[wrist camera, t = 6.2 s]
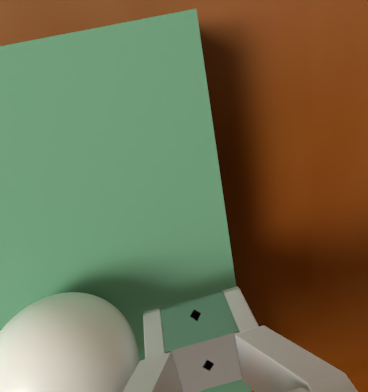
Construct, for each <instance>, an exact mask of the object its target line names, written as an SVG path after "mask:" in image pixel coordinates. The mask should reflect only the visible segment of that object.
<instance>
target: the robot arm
mask: <svg viewBox="0 0 368 392" xmlns="http://www.w3.org/2000/svg"><path fill="white" fill-rule="evenodd" d="M143 327H144V347H145V359H144V360H141V361H140V362H139V363H138V365H137V367H136V369H135V370H134V372H133V374H132V376H131V378H130V379H129V381H128V383H127V385H126V386H125V388H124V390H123V392H199V391H202V390H205V389H208V388H211V387H215V386H218V385H222V384H226V383H230V382H233V381H237V380H241V379H243V381H244V382H245V383H246V384H247V385H248V386H249V387H250V388H251V389H252V390H253V391H254V392H358V391H357V390H356V388H355V387H354V385H353V384H352V383H351V381H350V380H349V378H348V377H347V375H346V374H345V373H344V372H342V371H341V370H339V369H337V368H335V367H334V366H332V365H330V364H329V363H327V362H325V361H324V360H322V359H320V358H319V357H317V356H315V355H313V354H312V353H310V352H308V351H307V350H305V349H303V348H302V347H300V346H298V345H297V344H295V343H293V342H291V341H290V340H288V339H286V338H285V337H283V336H281V335H280V334H278V333H276V332H275V331H273V330H271V329H270V328H268V327H266V326H264V325H263V326H259V325H258V323H257V321H256V319H255V317H254V316H253V314H252V312H251V310H250V308H249V306H248V304H247V302H246V300H245V298H244V296H243V294H242V292H241V290H240V288H239V287H238V286H237V287H233V288H230V289H226V290H223V291H220V292H217V293H213V294H210V295H206V296H202V297H199V298H195V299H192V300H189V301H185V302H181V303H177V304H172V305H168V306H164V307H160V308H158V309H154V310H150V311H146V312H144V314H143Z"/></svg>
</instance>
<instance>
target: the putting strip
mask: <svg viewBox="0 0 368 392" xmlns="http://www.w3.org/2000/svg"><path fill="white" fill-rule="evenodd" d="M233 287H236V280H235V273H234V266H233V259H232V253H231V246H230V239H229V232H228V225H227V218H226V211H225V204H224V197H223V190H222V183H221V176H220V169H219V162H218V155H217V149H216V142H215V135H214V128H213V121H212V114H211V107H210V100H209V93H208V86H207V79H206V72H205V65H204V58H203V51H202V44H201V38H200V31H199V24H198V17H197V10H196V9H192V10H187V11H181V12H176V13H171V14H166V15H161V16H156V17H150V18H145V19H140V20H135V21H130V22H124V23H119V24H114V25H109V26H104V27H99V28H93V29H88V30H83V31H78V32H73V33H67V34H62V35H57V36H52V37H47V38H42V39H36V40H31V41H26V42H21V43H16V44H10V45H5V46H0V331H1V330H2V328H3V327H4V326H5V325H6V324H7V323H8V322H9V321H10V320H11V319H12V318H13V317H14V316H15V315H16V314H17V313H19V312H20V311H21V310H23V309H24V308H26V307H27V306H29V305H31V304H32V303H34V302H36V301H38V300H40V299H43V298H45V297H48V296H51V295H54V294H59V293H66V292H80V293H87V294H92V295H95V296H98V297H100V298H102V299H104V300H106V301H108V302H109V303H111V304H112V305H113V306H115V307H116V308H117V309H118V310H119V311H120V312H121V313H122V314H123V316H124V317H125V318H126V320H127V321H128V323H129V324H130V327H131V329H132V331H133V333H134V335H135V339H136V343H137V347H138V355H139V362H140V361H141V360H144V359H145V347H144V327H143V314H144V312H146V311H150V310H154V309H158V308H160V307H164V306H168V305H172V304H177V303H181V302H185V301H189V300H192V299H195V298H199V297H202V296H206V295H210V294H213V293H217V292H220V291H223V290H226V289H230V288H233ZM199 392H252V391H251V388H250V387H249V386H248V385H247V384H246V383H245V382H244V381H243V379H241V380H237V381H233V382H230V383H226V384H222V385H218V386H215V387H211V388H208V389H205V390H202V391H199Z"/></svg>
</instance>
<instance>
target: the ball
mask: <svg viewBox="0 0 368 392" xmlns="http://www.w3.org/2000/svg"><path fill="white" fill-rule="evenodd" d="M138 363H139V355H138V347H137V343H136V339H135V335H134V333H133V331H132V329H131V327H130V324H129V323H128V321H127V320H126V318H125V317H124V316H123V314H122V313H121V312H120V311H119V310H118V309H117V308H116V307H115V306H113V305H112V304H111V303H109V302H108V301H106V300H104V299H102V298H100V297H98V296H95V295H92V294H87V293H80V292H66V293H59V294H54V295H51V296H48V297H45V298H43V299H40V300H38V301H36V302H34V303H32V304H31V305H29V306H27V307H26V308H24V309H23V310H21V311H20V312H19V313H17V314H16V315H15V316H14V317H13V318H12V319H11V320H10V321H9V322H8V323H7V324H6V325H5V326H4V327H3V328H2V330H1V331H0V392H123V390H124V388H125V386H126V385H127V383H128V381H129V379H130V378H131V376H132V374H133V372H134V370H135V369H136V367H137V365H138Z"/></svg>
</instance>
